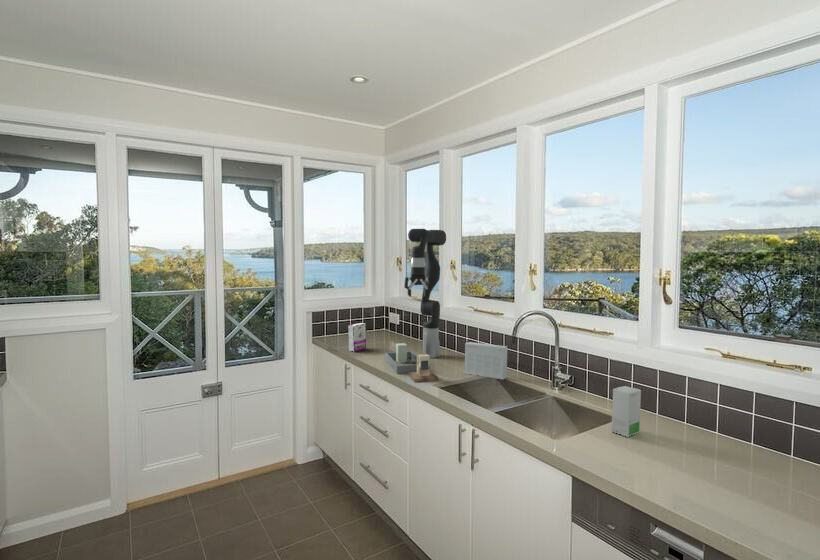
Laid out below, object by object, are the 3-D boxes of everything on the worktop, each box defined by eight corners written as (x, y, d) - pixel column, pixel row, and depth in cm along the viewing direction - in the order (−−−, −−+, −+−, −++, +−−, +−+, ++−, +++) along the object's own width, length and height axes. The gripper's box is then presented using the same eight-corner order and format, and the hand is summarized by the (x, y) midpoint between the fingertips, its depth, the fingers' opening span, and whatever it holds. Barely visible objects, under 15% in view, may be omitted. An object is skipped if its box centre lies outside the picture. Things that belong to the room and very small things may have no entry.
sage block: (404, 360, 260) (404, 343, 260) (406, 362, 255) (406, 345, 255) (396, 361, 259) (396, 343, 258) (398, 363, 254) (398, 345, 253)
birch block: (429, 375, 224) (429, 355, 224) (419, 376, 223) (419, 356, 222) (426, 373, 229) (426, 353, 229) (416, 373, 228) (417, 354, 227)
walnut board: (430, 373, 233) (431, 370, 233) (438, 380, 222) (438, 377, 222) (408, 375, 230) (408, 372, 230) (414, 382, 219) (414, 379, 219)
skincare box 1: (507, 377, 228) (508, 346, 227) (503, 380, 224) (504, 348, 223) (468, 371, 239) (468, 341, 238) (463, 373, 234) (464, 343, 233)
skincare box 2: (627, 438, 156) (629, 393, 155) (609, 431, 162) (611, 388, 161) (640, 432, 161) (642, 389, 160) (622, 426, 167) (624, 384, 166)
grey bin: (411, 358, 266) (411, 351, 266) (426, 371, 237) (426, 364, 237) (384, 359, 262) (384, 352, 262) (396, 373, 233) (396, 366, 233)
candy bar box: (360, 348, 291) (360, 322, 290) (366, 349, 288) (366, 323, 287) (348, 351, 282) (348, 324, 281) (353, 352, 279) (353, 325, 278)
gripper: (406, 266, 239) (406, 297, 240) (432, 266, 242) (432, 296, 244) (403, 265, 246) (403, 295, 247) (428, 265, 250) (428, 295, 251)
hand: (417, 296), depth 245 cm, fingers open, 8 cm apart
